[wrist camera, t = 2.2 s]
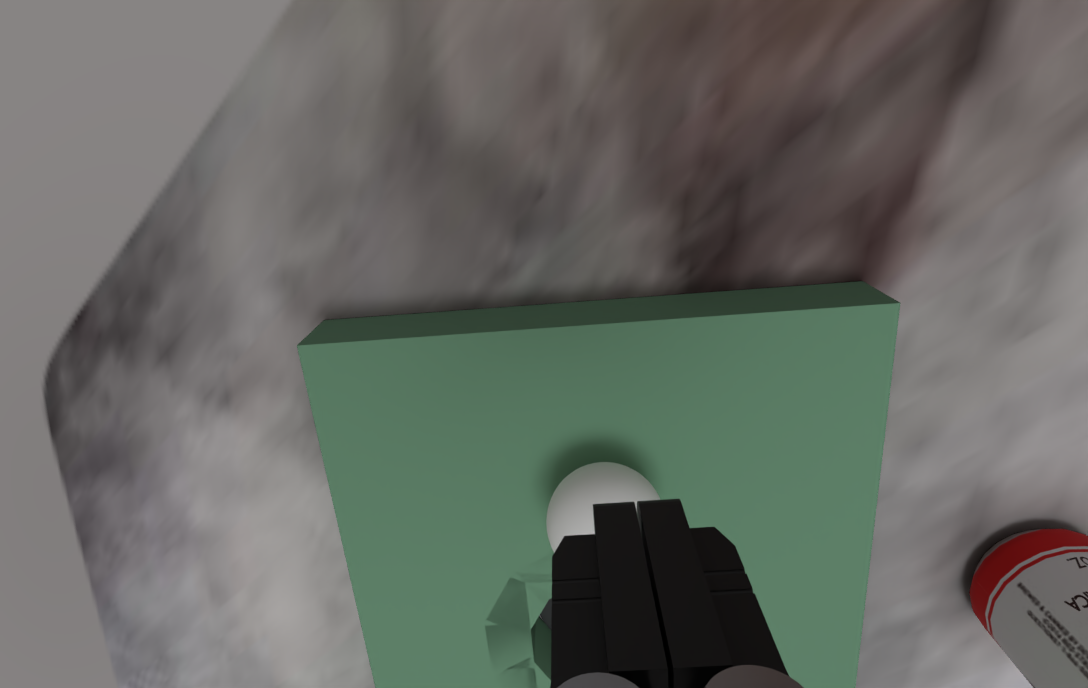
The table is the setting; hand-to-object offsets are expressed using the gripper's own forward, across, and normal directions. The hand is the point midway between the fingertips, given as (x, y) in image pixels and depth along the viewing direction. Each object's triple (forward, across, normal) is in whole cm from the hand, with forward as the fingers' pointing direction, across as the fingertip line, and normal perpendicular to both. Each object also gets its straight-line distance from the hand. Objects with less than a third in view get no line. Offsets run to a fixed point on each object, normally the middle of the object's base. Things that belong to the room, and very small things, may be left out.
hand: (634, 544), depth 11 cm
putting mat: (+16, 0, +10) cm, 19 cm away
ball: (+11, 0, +7) cm, 13 cm away
